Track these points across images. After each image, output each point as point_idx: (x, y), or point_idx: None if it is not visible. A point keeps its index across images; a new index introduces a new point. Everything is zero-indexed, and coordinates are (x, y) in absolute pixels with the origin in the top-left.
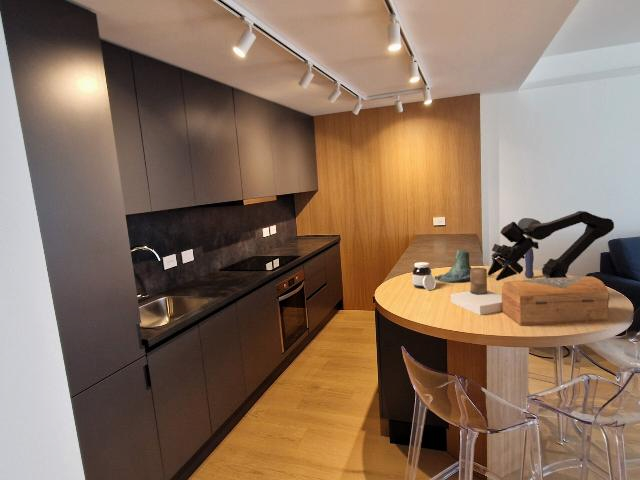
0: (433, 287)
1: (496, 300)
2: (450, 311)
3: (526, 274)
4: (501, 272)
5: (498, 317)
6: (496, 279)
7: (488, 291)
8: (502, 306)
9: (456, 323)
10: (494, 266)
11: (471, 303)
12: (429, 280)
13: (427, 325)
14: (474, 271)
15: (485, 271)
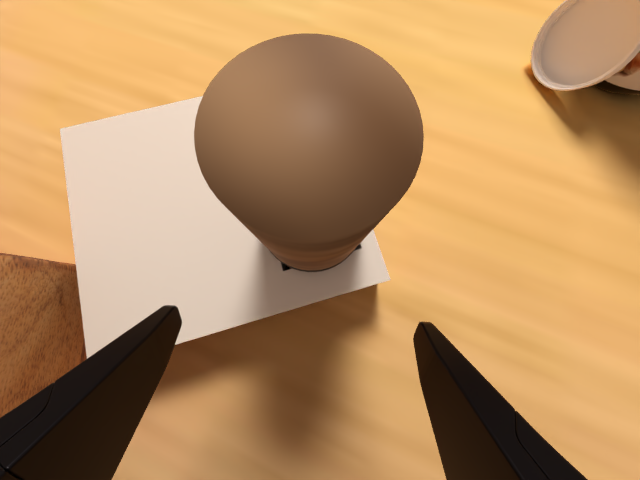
0: (558, 85)
1: (120, 254)
2: (188, 61)
3: None
4: (48, 389)
5: (42, 217)
6: (163, 310)
7: (322, 291)
8: (72, 264)
9: (42, 37)
10: (492, 475)
11: (136, 115)
12: (613, 37)
13: None
14: (244, 60)
15: (216, 195)
